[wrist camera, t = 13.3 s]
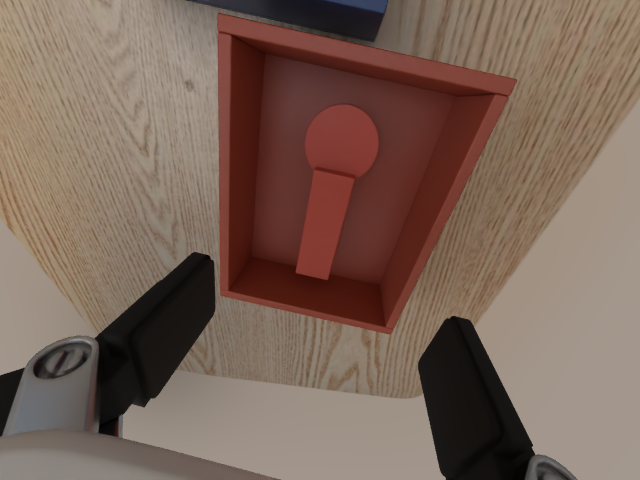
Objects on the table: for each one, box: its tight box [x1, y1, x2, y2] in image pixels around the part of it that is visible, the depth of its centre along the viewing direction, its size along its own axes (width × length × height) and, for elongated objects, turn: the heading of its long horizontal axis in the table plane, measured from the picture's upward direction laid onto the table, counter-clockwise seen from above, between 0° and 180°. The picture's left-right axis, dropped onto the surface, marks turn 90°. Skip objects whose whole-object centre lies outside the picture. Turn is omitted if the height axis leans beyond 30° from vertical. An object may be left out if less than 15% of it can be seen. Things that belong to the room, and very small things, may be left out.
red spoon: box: [296, 104, 379, 280], centre depth 16 cm, size 11×4×3 cm, turn 169°
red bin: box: [218, 13, 517, 334], centre depth 16 cm, size 15×12×5 cm
